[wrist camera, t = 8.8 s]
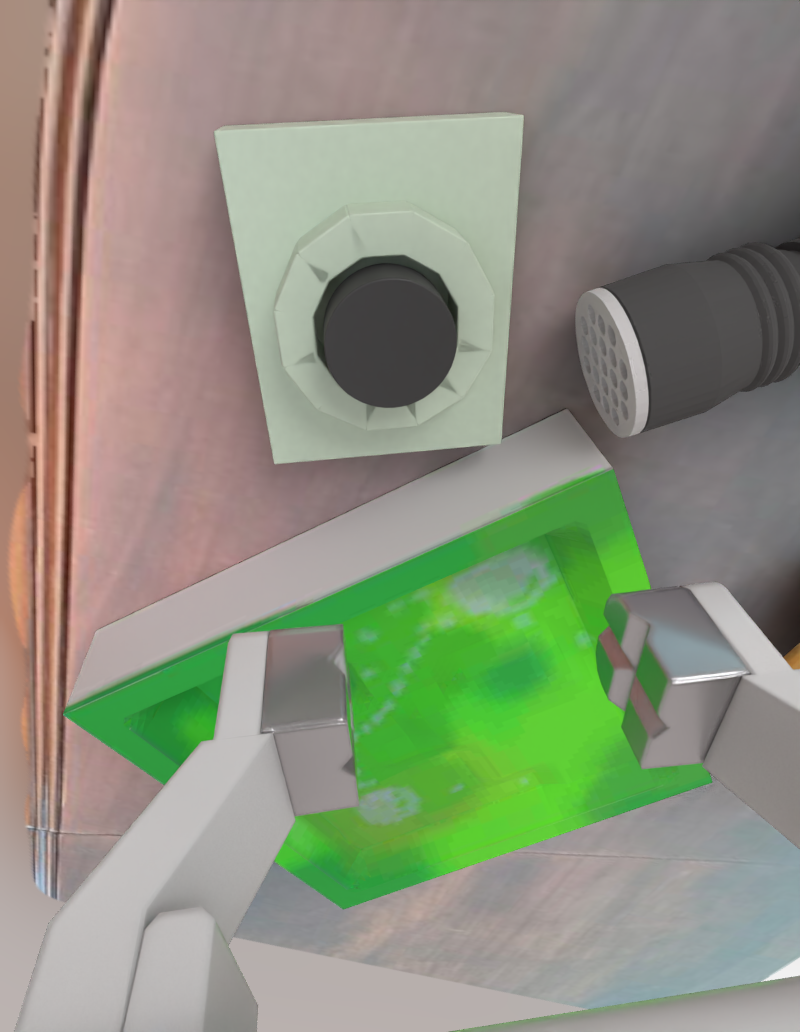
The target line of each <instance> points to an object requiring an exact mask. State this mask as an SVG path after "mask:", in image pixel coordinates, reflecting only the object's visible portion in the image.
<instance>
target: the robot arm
mask: <svg viewBox="0 0 800 1032" xmlns="http://www.w3.org/2000/svg"><path fill="white" fill-rule="evenodd" d="M603 614H604V616H605V618H606V620H607V622H608V624H609V626H608V627H607V628H606V629H605V630H604V631H603V632H602V633H601V634H600V635H599V636H598V640H597V646H596V652H595V653H596V664H597V672H598V675H599V679H600V682H601V685H602V687H603V690H604V692H605V694H606V696H607V698H608V700H609V701H610V702H612V703H613V704H615V705H616V706H618V707H619V708H620V709H622V710H623V711H625V714H624V718H623V721H622V725H621V728H622V730H623V732H624V734H625V736H626V738H627V740H628V742H629V745H630V747H631V749H632V751H633V753H634V755H635V757H636V759H637V761H638V763H639V765H640V767H641V769H650V768H660V767H670V766H679V765H689V764H699V763H703V765H702V767H703V768H704V769H706V770H707V771H708V772H709V773H710V774H711V775H713V776H714V777H715V778H716V779H717V780H719V781H720V782H721V783H722V784H723V785H724V786H726V787H727V788H728V789H729V790H730V791H732V792H733V793H734V794H735V795H736V796H737V797H739V798H740V799H741V800H742V801H743V802H745V803H746V804H747V805H748V806H749V807H750V808H752V809H753V810H754V811H755V812H756V813H758V814H759V815H760V816H761V817H762V818H763V819H765V820H766V821H767V822H768V823H769V824H770V825H772V826H773V827H774V828H775V829H776V830H778V831H779V832H780V833H781V834H782V835H783V836H785V837H786V838H787V839H788V840H789V841H791V842H792V843H793V844H794V845H795V846H796V847H798V848H799V849H800V669H794V670H793V669H792V668H791V666H790V665H789V664H788V663H787V662H786V660H785V659H784V658H783V657H782V655H781V654H780V653H779V652H778V651H777V649H776V648H775V647H774V646H773V645H772V643H771V642H770V641H769V640H768V638H767V637H766V636H765V635H764V634H763V632H762V631H761V630H760V629H759V627H758V626H757V625H756V624H755V623H754V621H753V620H752V619H751V618H750V616H749V615H748V614H747V613H746V612H745V610H744V609H743V608H742V607H741V606H740V604H739V603H738V602H737V601H736V599H735V598H734V597H733V596H732V595H731V593H730V592H729V591H728V590H727V588H726V587H725V586H723V585H721V584H719V583H718V582H708V583H699V584H691V585H682V586H680V587H677V586H674V587H665V588H657V589H648V590H640V591H632V592H623V593H615V594H611V595H610V597H609V598H608V599H607V601H606V604H605V609H604V613H603ZM354 731H355V726H354V713H353V700H352V689H351V679H350V670H349V664H348V663H347V650H346V639H345V633H344V626H343V624H335V625H323V626H311V627H299V628H288V629H276V630H270V631H261V632H249V633H237V634H232V636H231V638H230V641H229V643H228V647H227V653H226V660H225V666H224V673H223V679H222V686H221V692H220V699H219V705H218V712H217V719H216V725H215V732H214V738H213V740H208V741H201V742H200V744H199V745H198V746H197V747H196V748H195V750H194V751H193V752H192V753H191V754H190V755H189V757H188V758H187V759H186V760H185V761H184V763H183V764H182V765H181V766H180V767H179V769H178V770H177V771H176V772H175V773H174V774H173V776H172V777H171V778H170V779H169V780H168V782H167V783H166V784H165V785H164V786H163V788H162V789H161V790H160V791H159V792H158V794H157V795H156V796H155V797H154V798H153V799H152V801H151V802H150V803H149V804H148V805H147V807H146V808H145V809H144V810H143V811H142V813H141V814H140V815H139V816H138V817H137V818H136V820H135V821H134V822H133V823H132V824H131V826H130V827H129V828H128V829H127V830H126V832H125V833H124V834H123V835H122V836H121V838H120V839H119V840H118V841H117V842H116V843H115V845H114V846H113V847H112V848H111V849H110V851H109V852H108V853H107V854H106V855H105V857H104V858H103V859H102V860H101V861H100V862H99V864H98V865H97V866H96V867H95V868H94V870H93V871H92V872H91V873H90V874H89V876H88V877H87V878H86V879H85V880H84V882H83V883H82V884H81V885H80V886H79V887H78V889H77V890H76V891H75V892H74V893H73V895H72V896H71V897H70V898H69V899H68V901H67V902H66V903H65V904H64V905H63V906H62V908H61V909H60V910H59V911H58V913H57V914H56V915H55V916H54V917H53V918H52V920H51V921H50V922H49V923H48V926H47V929H46V932H45V935H44V939H43V942H42V945H41V948H40V951H39V954H38V957H37V961H36V964H35V967H34V970H33V973H32V976H31V980H30V983H29V986H28V989H27V992H26V995H25V998H24V1001H23V1005H22V1008H21V1011H20V1014H19V1017H18V1021H17V1023H16V1027H15V1030H14V1032H257V1015H258V1005H257V1002H256V1000H255V999H254V996H253V995H252V992H251V990H250V988H249V986H248V984H247V982H246V980H245V978H244V976H243V974H242V972H241V971H240V968H239V966H238V965H237V962H236V961H235V958H234V956H233V955H232V952H231V950H230V948H229V944H230V942H231V940H232V938H233V936H234V934H235V933H236V931H237V929H238V927H239V925H240V923H241V921H242V920H243V918H244V916H245V914H246V912H247V910H248V908H249V907H250V905H251V903H252V901H253V899H254V897H255V895H256V894H257V892H258V890H259V888H260V886H261V884H262V882H263V881H264V879H265V877H266V875H267V873H268V871H269V869H270V867H271V866H272V864H273V862H274V860H275V858H276V856H277V854H278V853H279V851H280V849H281V847H282V845H283V843H284V841H285V840H286V838H287V836H288V834H289V832H290V830H291V828H292V827H293V825H294V823H295V816H301V815H307V814H314V813H320V812H326V811H333V810H339V809H345V808H351V807H358V806H359V792H358V774H357V758H356V750H355V742H354V734H353V733H354ZM451 1032H800V976H796V977H789V978H783V979H777V980H770V981H764V982H758V983H751V984H745V985H739V986H733V987H726V988H720V989H714V990H708V991H701V992H695V993H689V994H682V995H676V996H670V997H664V998H657V999H651V1000H645V1001H639V1002H632V1003H626V1004H620V1005H613V1006H607V1007H601V1008H595V1009H588V1010H582V1011H576V1012H570V1013H563V1014H557V1015H551V1016H544V1017H539V1018H532V1019H526V1020H519V1021H514V1022H507V1023H501V1024H494V1025H488V1026H482V1027H475V1028H469V1029H463V1030H457V1031H451Z"/></svg>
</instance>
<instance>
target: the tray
mask: <svg viewBox="0 0 800 1032" xmlns="http://www.w3.org/2000/svg"><path fill="white" fill-rule="evenodd" d="M648 589H651V586H650V583H649V580H648V577H647V574H646V570H645V567H644V564H643V561H642V558H641V555H640V551H639V548H638V545H637V542H636V539H635V536H634V532H633V529H632V526H631V523H630V520H629V517H628V513H627V510H626V507H625V504H624V501H623V498H622V494H621V491H620V488H619V485H618V482H617V478H616V475H615V472H614V469H613V468H612V466H611V465H610V464H609V462H608V461H607V460H606V458H605V457H604V456H603V454H602V453H601V452H600V451H599V449H598V448H597V447H596V445H595V444H594V443H593V441H592V440H591V439H590V437H589V436H588V435H587V434H586V432H585V431H584V430H583V428H582V427H581V426H580V424H579V423H578V422H577V420H576V419H575V418H574V417H573V415H572V414H571V413H570V411H569V410H568V409H565V410H563V411H561V412H559V413H557V414H555V415H552V416H550V417H548V418H546V419H544V420H542V421H540V422H538V423H535V424H533V425H531V426H529V427H527V428H525V429H523V430H521V431H518V432H516V433H514V434H512V435H510V436H508V437H506V438H504V439H502V440H501V444H497V445H489V446H487V447H485V448H482V449H480V450H478V451H476V452H474V453H472V454H470V455H468V456H465V457H463V458H461V459H459V460H457V461H455V462H453V463H451V464H448V465H446V466H444V467H442V468H440V469H438V470H436V471H434V472H432V473H429V474H427V475H425V476H423V477H421V478H419V479H417V480H415V481H412V482H410V483H408V484H406V485H404V486H402V487H400V488H398V489H395V490H393V491H391V492H389V493H387V494H385V495H383V496H381V497H378V498H376V499H374V500H372V501H370V502H368V503H366V504H364V505H362V506H359V507H357V508H355V509H353V510H351V511H349V512H347V513H345V514H342V515H340V516H338V517H336V518H334V519H332V520H330V521H328V522H325V523H323V524H321V525H319V526H317V527H315V528H313V529H311V530H308V531H306V532H304V533H302V534H300V535H298V536H296V537H294V538H292V539H289V540H287V541H285V542H283V543H281V544H279V545H277V546H275V547H272V548H270V549H268V550H266V551H264V552H262V553H260V554H258V555H255V556H253V557H251V558H249V559H247V560H245V561H243V562H241V563H238V564H236V565H234V566H232V567H230V568H228V569H226V570H224V571H221V572H219V573H217V574H215V575H213V576H211V577H209V578H207V579H205V580H202V581H200V582H198V583H196V584H194V585H192V586H190V587H188V588H185V589H183V590H181V591H179V592H177V593H175V594H173V595H171V596H168V597H166V598H164V599H162V600H160V601H158V602H156V603H154V604H151V605H149V606H147V607H145V608H143V609H141V610H139V611H137V612H135V613H132V614H130V615H128V616H126V617H124V618H122V619H120V620H118V621H115V622H113V623H111V624H109V625H107V626H105V627H103V628H101V629H98V630H96V632H95V635H94V637H93V640H92V642H91V645H90V648H89V650H88V653H87V655H86V658H85V660H84V663H83V665H82V668H81V670H80V673H79V675H78V678H77V680H76V683H75V686H74V688H73V691H72V693H71V696H70V698H69V701H68V703H67V706H66V708H65V711H64V713H63V715H64V716H65V717H67V718H68V719H69V720H71V721H72V722H74V723H75V724H77V725H78V726H80V727H81V728H82V729H84V730H85V731H87V732H88V733H90V734H91V735H92V736H94V737H95V738H97V739H98V740H100V741H101V742H103V743H104V744H105V745H107V746H108V747H110V748H111V749H113V750H114V751H116V752H117V753H118V754H120V755H121V756H123V757H124V758H126V759H127V760H129V761H130V762H131V763H133V764H134V765H136V766H137V767H139V768H140V769H141V770H143V771H144V772H146V773H147V774H149V775H150V776H152V777H153V778H154V779H156V780H157V781H159V782H160V783H162V784H163V785H165V784H166V783H167V782H168V780H169V779H170V778H171V777H172V776H173V774H174V773H175V772H176V771H177V770H178V769H179V767H180V766H181V765H182V764H183V763H184V761H185V760H186V759H187V758H188V757H189V755H190V754H191V753H192V752H193V751H194V750H195V748H196V747H197V746H198V745H199V744H200V742H201V741H208V740H213V738H214V732H215V725H216V719H217V712H218V705H219V699H220V692H221V686H222V679H223V673H224V666H225V660H226V653H227V647H228V643H229V641H230V638H231V636H232V634H237V633H249V632H261V631H270V630H276V629H288V628H299V627H311V626H323V625H335V624H343V626H344V633H345V639H346V650H347V663H348V664H349V670H350V679H351V689H352V700H353V713H354V726H355V731H354V733H353V734H354V742H355V750H356V758H357V774H358V792H359V806H358V807H351V808H345V809H339V810H333V811H326V812H320V813H314V814H307V815H301V816H295V823H294V825H293V827H292V828H291V830H290V832H289V834H288V836H287V838H286V840H285V841H284V843H283V845H282V847H281V849H280V851H279V853H278V854H277V856H276V858H275V860H274V862H276V863H277V864H278V865H280V866H281V867H283V868H284V869H286V870H287V871H288V872H290V873H291V874H293V875H294V876H296V877H297V878H299V879H300V880H301V881H303V882H304V883H306V884H307V885H309V886H310V887H312V888H313V889H314V890H316V891H317V892H319V893H320V894H322V895H323V896H325V897H326V898H327V899H329V900H330V901H332V902H333V903H335V904H336V905H337V906H339V907H340V908H342V909H346V908H349V907H352V906H355V905H358V904H360V903H363V902H366V901H369V900H372V899H375V898H378V897H381V896H384V895H387V894H390V893H392V892H395V891H398V890H401V889H404V888H407V887H410V886H413V885H416V884H419V883H421V882H424V881H427V880H430V879H433V878H436V877H439V876H442V875H445V874H448V873H450V872H453V871H456V870H459V869H462V868H465V867H468V866H471V865H474V864H477V863H480V862H482V861H485V860H488V859H491V858H494V857H497V856H500V855H503V854H506V853H509V852H511V851H514V850H517V849H520V848H523V847H526V846H529V845H532V844H535V843H538V842H540V841H543V840H546V839H549V838H552V837H555V836H558V835H561V834H564V833H567V832H570V831H572V830H575V829H578V828H581V827H584V826H587V825H590V824H593V823H596V822H599V821H601V820H604V819H607V818H610V817H613V816H616V815H619V814H622V813H625V812H628V811H630V810H633V809H636V808H639V807H642V806H645V805H648V804H651V803H654V802H657V801H660V800H662V799H665V798H668V797H671V796H674V795H677V794H680V793H683V792H686V791H689V790H691V789H694V788H697V787H700V786H703V785H706V784H709V783H712V780H711V776H710V773H709V772H708V771H707V770H706V769H704V768H703V767H702V765H703V763H699V764H689V765H679V766H670V767H660V768H650V769H641V767H640V765H639V763H638V761H637V759H636V757H635V755H634V753H633V751H632V749H631V747H630V745H629V742H628V740H627V738H626V736H625V734H624V732H623V730H622V728H621V725H622V721H623V718H624V714H625V711H623V710H622V709H620V708H619V707H618V706H616V705H615V704H613V703H612V702H610V701H609V700H608V698H607V696H606V694H605V692H604V690H603V687H602V685H601V682H600V679H599V675H598V672H597V664H596V653H595V652H596V646H597V640H598V636H599V635H600V634H601V633H602V632H603V631H604V630H605V629H606V628H607V627H608V626H609V624H608V622H607V620H606V618H605V616H604V614H603V613H604V609H605V604H606V601H607V599H608V598H609V597H610V595H611V594H615V593H623V592H632V591H640V590H648Z"/></svg>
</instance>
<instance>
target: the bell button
mask: <svg viewBox="0 0 800 1032" xmlns="http://www.w3.org/2000/svg"><path fill="white" fill-rule="evenodd" d="M323 330H324V353H325V358H326V362H327V365H328V368H329V370H330V372H331V374H332V376H333V378H334V379H335V381H336V382H337V384H338V385H339V386H340V387H341V388H342V389H343V390H344V391H345V392H346V393H347V394H348V395H350V396H351V397H353V398H354V399H356V400H358V401H360V402H362V403H365V404H368V405H371V406H375V407H382V408H396V407H403V406H406V405H410V404H412V403H415V402H417V401H419V400H421V399H423V398H425V397H426V396H428V395H429V394H430V393H432V392H433V391H434V390H435V389H436V388H437V387H438V386H439V385H440V384H441V383H442V382H443V380H444V379H445V377H446V376H447V374H448V373H449V371H450V369H451V367H452V364H453V361H454V358H455V354H456V348H457V332H456V327H455V323H454V320H453V317H452V315H451V313H450V311H449V309H448V307H447V305H446V303H445V302H444V300H443V298H442V297H441V295H440V293H439V292H438V290H437V289H436V287H435V286H434V285H433V284H432V283H431V281H430V280H429V279H427V278H426V277H425V276H424V275H423V274H421V273H419V272H418V271H416V270H414V269H412V268H410V267H407V266H403V265H400V264H393V263H381V264H374V265H370V266H367V267H364V268H362V269H360V270H357V271H356V272H354V273H352V274H351V275H349V276H348V277H347V278H346V279H345V280H343V281H342V283H341V284H340V285H339V286H338V287H337V288H336V290H335V291H334V292H333V294H332V296H331V298H330V300H329V302H328V304H327V307H326V311H325V315H324V323H323Z"/></svg>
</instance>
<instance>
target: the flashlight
mask: <svg viewBox="0 0 800 1032" xmlns="http://www.w3.org/2000/svg"><path fill="white" fill-rule="evenodd" d="M575 328H576V339H577V346H578V353H579V358H580V363H581V367H582V371H583V374H584V377H585V380H586V383H587V386H588V389H589V392H590V395H591V397H592V400H593V402H594V404H595V406H596V408H597V411H598V412H599V414H600V416H601V417H602V419H603V420H604V422H605V423H606V425H607V426H608V428H609V429H610V430H611V431H612V432H613V433H614V434H615V435H617V436H618V437H621V438H626V437H630V436H633V435H636V434H639V433H641V432H645V431H648V430H651V429H654V428H657V427H660V426H663V425H666V424H669V423H673V422H676V421H679V420H682V419H685V418H688V417H691V416H694V415H697V414H701V413H704V412H706V411H708V410H709V409H711V408H713V407H714V406H716V405H718V404H719V403H721V402H723V401H724V400H726V399H727V398H729V397H731V396H732V395H734V394H736V393H737V392H748V391H751V390H754V389H755V388H757V387H763V386H767V385H769V384H770V383H772V382H779V381H782V380H784V379H785V378H787V377H789V376H790V375H791V374H792V373H793V372H794V371H795V370H796V369H797V367H798V366H799V364H800V238H798V239H795V240H792V241H789V242H786V243H783V244H781V245H779V246H778V247H776V248H774V247H772V246H769V245H767V244H764V243H747V244H745V245H743V246H741V247H740V248H733V249H730V250H728V251H726V252H725V253H718V254H716V255H714V256H712V257H710V258H709V259H708V260H707V261H701V262H689V263H677V264H666V265H663V266H660V267H657V268H654V269H651V270H648V271H646V272H643V273H640V274H637V275H634V276H631V277H628V278H625V279H622V280H620V281H617V282H614V283H611V284H608V285H605V286H602V287H600V288H596V289H593V290H590V291H587V292H585V293H583V294H582V295H581V297H580V298H579V300H578V303H577V307H576V314H575Z"/></svg>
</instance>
